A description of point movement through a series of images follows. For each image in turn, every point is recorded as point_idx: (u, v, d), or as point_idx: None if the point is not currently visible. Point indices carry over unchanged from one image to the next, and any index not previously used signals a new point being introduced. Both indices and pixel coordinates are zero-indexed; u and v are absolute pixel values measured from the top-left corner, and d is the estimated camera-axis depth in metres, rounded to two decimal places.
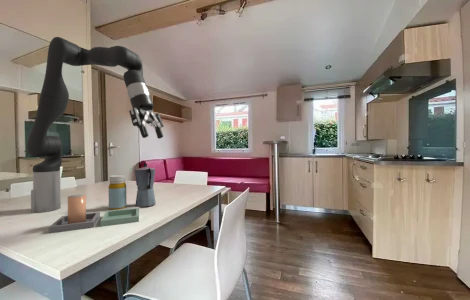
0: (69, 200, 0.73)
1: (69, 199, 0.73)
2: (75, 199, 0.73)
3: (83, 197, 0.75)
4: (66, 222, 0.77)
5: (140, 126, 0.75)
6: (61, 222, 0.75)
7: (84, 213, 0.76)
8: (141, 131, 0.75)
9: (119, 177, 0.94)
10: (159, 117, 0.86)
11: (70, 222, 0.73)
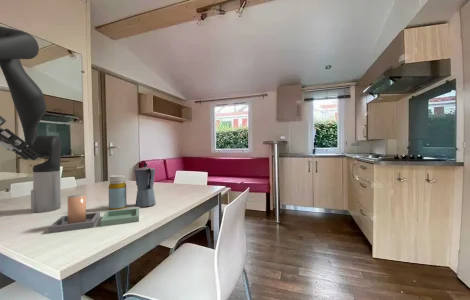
0: (69, 200, 0.73)
1: (69, 199, 0.73)
2: (75, 199, 0.73)
3: (83, 197, 0.75)
4: (66, 222, 0.77)
5: None
6: (61, 222, 0.75)
7: (84, 213, 0.76)
8: None
9: (119, 177, 0.94)
10: (4, 140, 0.57)
11: (70, 222, 0.73)
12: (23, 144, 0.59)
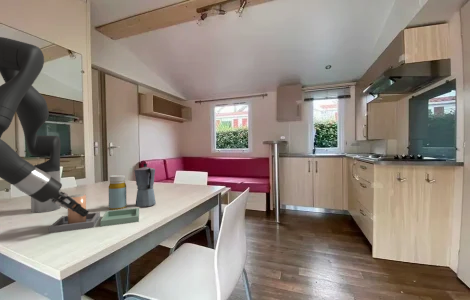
0: None
1: None
2: (76, 199, 0.73)
3: (83, 197, 0.75)
4: (66, 222, 0.77)
5: None
6: (61, 222, 0.75)
7: None
8: None
9: (119, 177, 0.94)
10: (65, 205, 0.68)
11: (70, 222, 0.73)
12: (78, 206, 0.71)
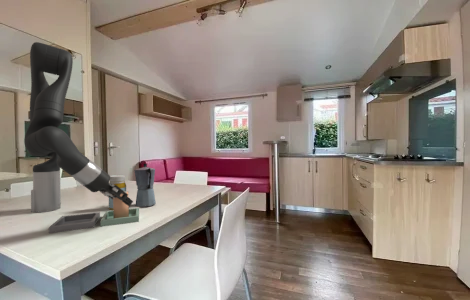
0: None
1: None
2: (121, 195, 0.79)
3: (127, 193, 0.81)
4: (66, 222, 0.77)
5: None
6: (61, 222, 0.75)
7: (127, 208, 0.81)
8: None
9: (119, 177, 0.94)
10: (114, 194, 0.73)
11: (116, 217, 0.79)
12: (125, 195, 0.75)
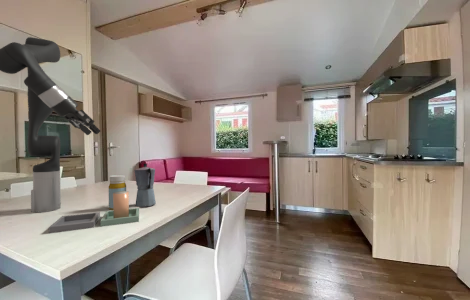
0: (115, 196, 0.79)
1: (115, 195, 0.79)
2: (121, 195, 0.79)
3: (127, 193, 0.81)
4: (66, 222, 0.77)
5: None
6: (61, 222, 0.75)
7: (128, 208, 0.81)
8: None
9: (119, 177, 0.94)
10: (80, 117, 0.79)
11: (116, 217, 0.79)
12: (91, 121, 0.81)
